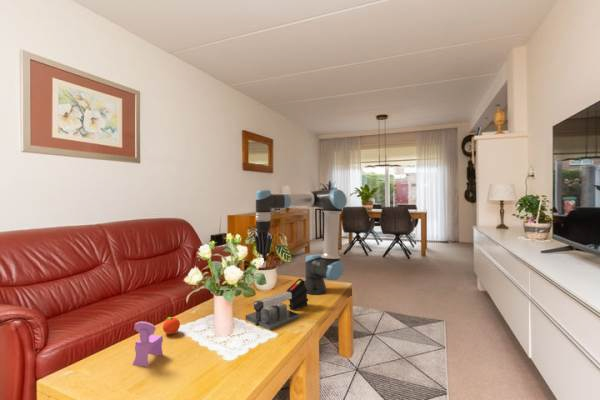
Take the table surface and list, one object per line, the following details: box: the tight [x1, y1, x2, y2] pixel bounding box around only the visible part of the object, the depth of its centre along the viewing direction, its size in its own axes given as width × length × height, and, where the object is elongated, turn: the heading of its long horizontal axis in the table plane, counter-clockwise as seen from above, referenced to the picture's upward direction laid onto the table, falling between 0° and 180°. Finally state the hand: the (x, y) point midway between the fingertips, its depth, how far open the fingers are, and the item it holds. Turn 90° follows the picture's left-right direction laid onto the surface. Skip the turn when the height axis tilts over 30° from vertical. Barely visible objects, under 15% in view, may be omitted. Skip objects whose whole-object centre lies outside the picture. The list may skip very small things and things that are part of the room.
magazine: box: [286, 278, 309, 311], centre depth 163 cm, size 4×13×15 cm, turn 136°
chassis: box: [245, 302, 300, 331], centre depth 148 cm, size 20×18×7 cm
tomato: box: [162, 316, 181, 335], centre depth 132 cm, size 8×7×7 cm
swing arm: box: [253, 290, 292, 311], centre depth 148 cm, size 22×4×3 cm, turn 137°
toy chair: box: [132, 321, 164, 368], centre depth 111 cm, size 8×9×15 cm
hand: (263, 267), depth 153 cm, fingers closed
